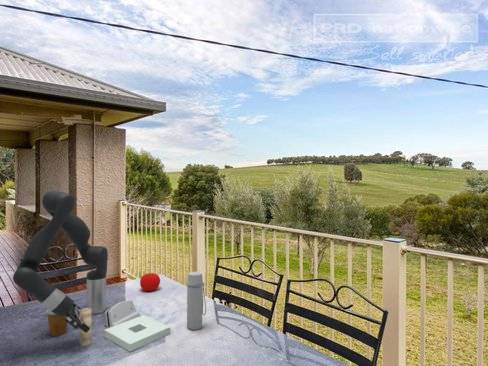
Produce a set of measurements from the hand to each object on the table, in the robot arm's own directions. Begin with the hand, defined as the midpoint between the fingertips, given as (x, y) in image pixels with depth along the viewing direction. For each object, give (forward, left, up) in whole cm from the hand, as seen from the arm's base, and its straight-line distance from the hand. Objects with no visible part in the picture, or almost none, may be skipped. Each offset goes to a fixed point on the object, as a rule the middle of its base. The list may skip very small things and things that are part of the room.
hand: (89, 326), depth 136 cm
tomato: (-37, +56, -7) cm, 67 cm away
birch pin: (-1, -1, -7) cm, 7 cm away
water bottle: (+23, +39, -7) cm, 46 cm away
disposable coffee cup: (-20, -4, -7) cm, 21 cm away
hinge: (-9, +20, -7) cm, 23 cm away
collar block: (+9, +17, -7) cm, 20 cm away
